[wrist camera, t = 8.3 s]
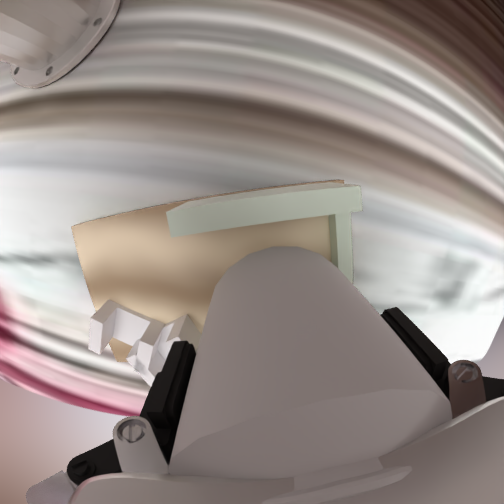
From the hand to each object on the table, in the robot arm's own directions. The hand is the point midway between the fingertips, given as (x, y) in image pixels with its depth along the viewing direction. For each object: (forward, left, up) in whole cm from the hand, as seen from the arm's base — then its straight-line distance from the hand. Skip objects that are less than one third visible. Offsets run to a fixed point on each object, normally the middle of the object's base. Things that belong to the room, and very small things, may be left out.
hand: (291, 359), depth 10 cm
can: (0, 0, -5) cm, 5 cm away
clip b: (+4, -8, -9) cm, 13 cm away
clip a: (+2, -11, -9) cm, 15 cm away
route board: (0, -4, -9) cm, 10 cm away
